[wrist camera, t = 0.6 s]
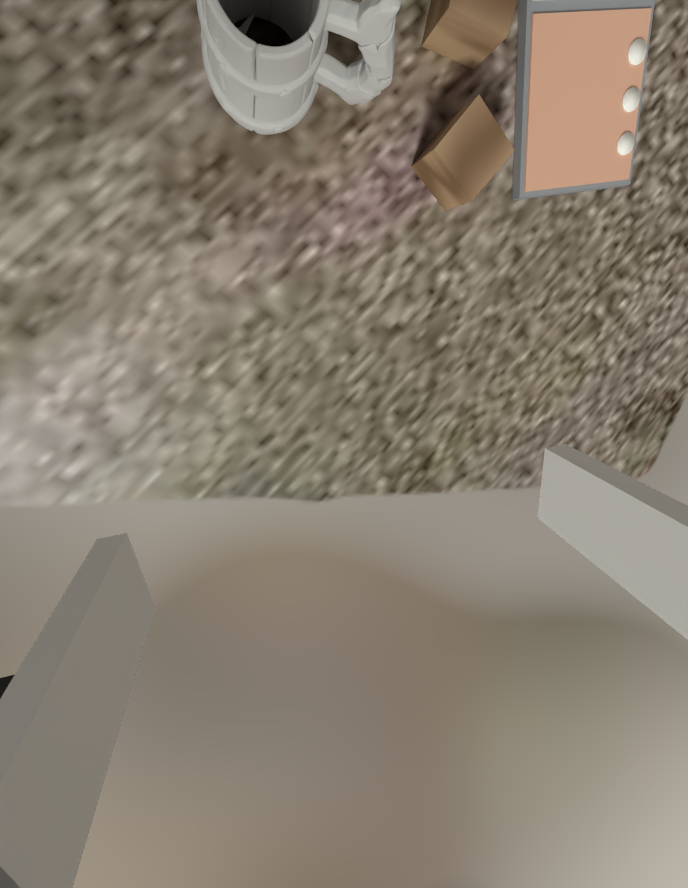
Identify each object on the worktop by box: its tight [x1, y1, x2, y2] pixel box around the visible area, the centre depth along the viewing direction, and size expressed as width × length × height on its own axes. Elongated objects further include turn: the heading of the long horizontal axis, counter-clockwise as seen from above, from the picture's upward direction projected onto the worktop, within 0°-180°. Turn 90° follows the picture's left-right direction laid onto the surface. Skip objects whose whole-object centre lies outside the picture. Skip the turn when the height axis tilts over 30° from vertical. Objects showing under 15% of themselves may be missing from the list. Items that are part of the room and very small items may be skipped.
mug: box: [197, 0, 402, 135], centre depth 23 cm, size 8×12×12 cm, turn 79°
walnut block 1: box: [421, 0, 517, 69], centre depth 27 cm, size 4×4×4 cm
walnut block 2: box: [411, 95, 515, 211], centre depth 30 cm, size 4×4×4 cm
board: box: [512, 0, 655, 200], centre depth 30 cm, size 24×11×1 cm, turn 7°
